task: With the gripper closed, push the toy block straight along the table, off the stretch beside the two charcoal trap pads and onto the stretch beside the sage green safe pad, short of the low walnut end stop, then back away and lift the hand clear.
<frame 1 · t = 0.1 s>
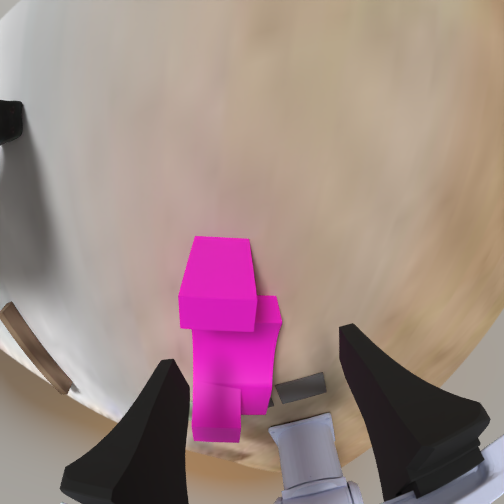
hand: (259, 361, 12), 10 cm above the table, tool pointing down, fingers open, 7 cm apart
toy block: (233, 319, 24), on the table
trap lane: (171, 337, 24), on the table
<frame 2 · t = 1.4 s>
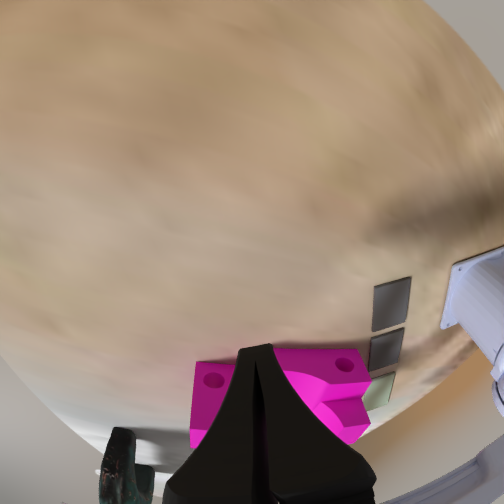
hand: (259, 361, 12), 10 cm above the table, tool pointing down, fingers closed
toy block: (275, 368, 26), on the table
ceramic cat: (134, 452, 35), on the table
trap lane: (282, 397, 28), on the table
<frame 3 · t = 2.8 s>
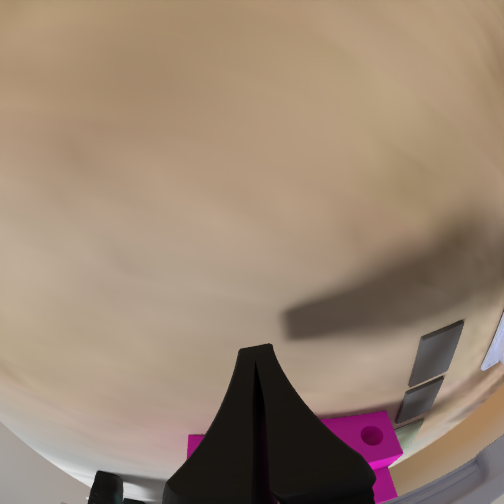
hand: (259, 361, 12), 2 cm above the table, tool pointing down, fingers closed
toy block: (286, 436, 19), on the table
ceramic cat: (124, 490, 27), on the table
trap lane: (291, 455, 20), on the table
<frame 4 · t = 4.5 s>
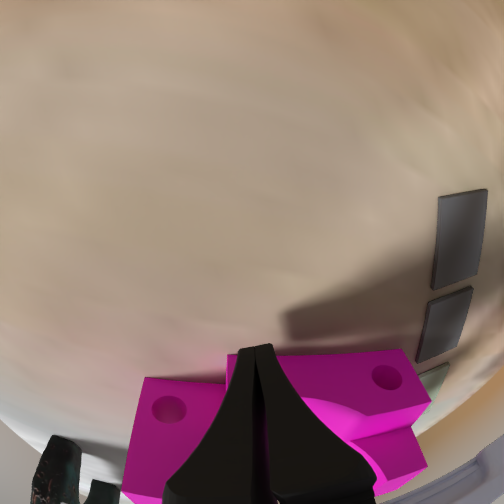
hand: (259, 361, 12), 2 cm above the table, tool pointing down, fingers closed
toy block: (272, 386, 16), on the table, touching gripper
ceramic cat: (89, 467, 23), on the table
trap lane: (277, 409, 17), on the table
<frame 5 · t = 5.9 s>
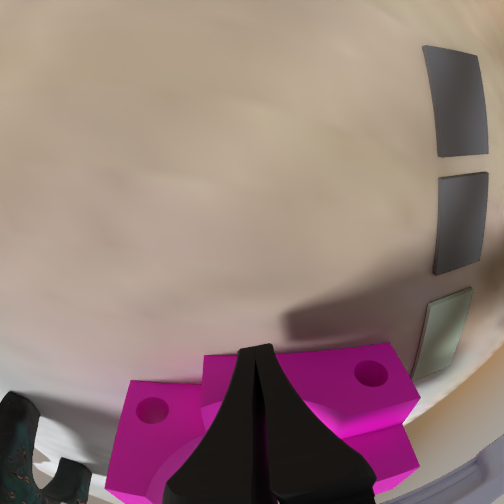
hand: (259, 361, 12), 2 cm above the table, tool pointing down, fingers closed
toy block: (257, 385, 16), on the table
ceramic cat: (54, 440, 20), on the table
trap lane: (256, 335, 14), on the table
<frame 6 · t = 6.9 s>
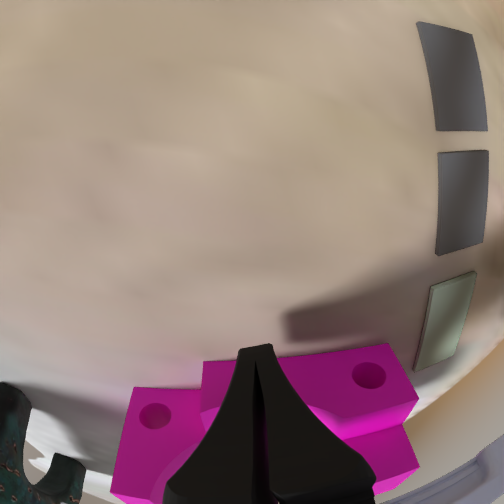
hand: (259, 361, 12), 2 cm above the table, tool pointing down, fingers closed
toy block: (257, 388, 16), on the table
ceramic cat: (47, 434, 20), on the table
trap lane: (251, 317, 13), on the table
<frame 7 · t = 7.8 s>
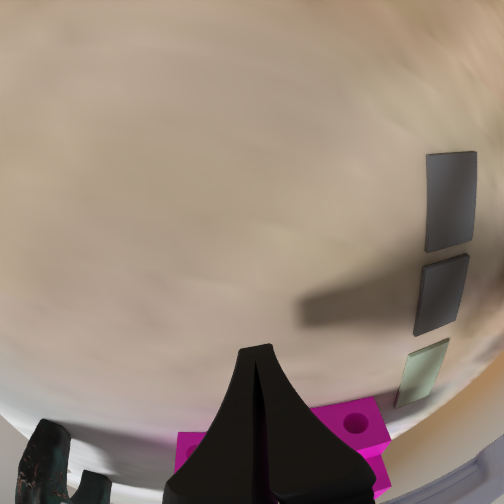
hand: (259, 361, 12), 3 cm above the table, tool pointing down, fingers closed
toy block: (273, 428, 20), on the table
ceramic cat: (79, 456, 23), on the table
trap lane: (269, 384, 16), on the table
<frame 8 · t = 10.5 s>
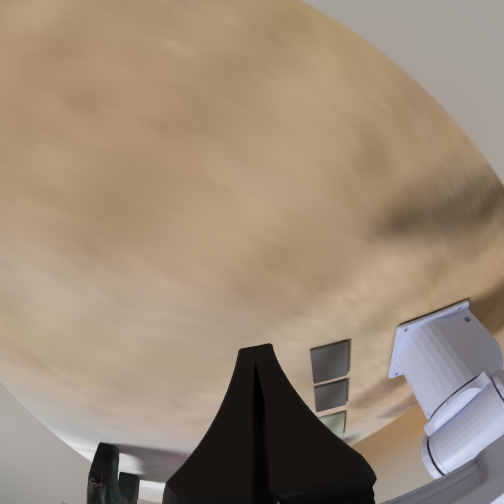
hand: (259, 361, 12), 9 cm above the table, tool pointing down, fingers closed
ceramic cat: (120, 463, 37), on the table
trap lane: (237, 428, 30), on the table
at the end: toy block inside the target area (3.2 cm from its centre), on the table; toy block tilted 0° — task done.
